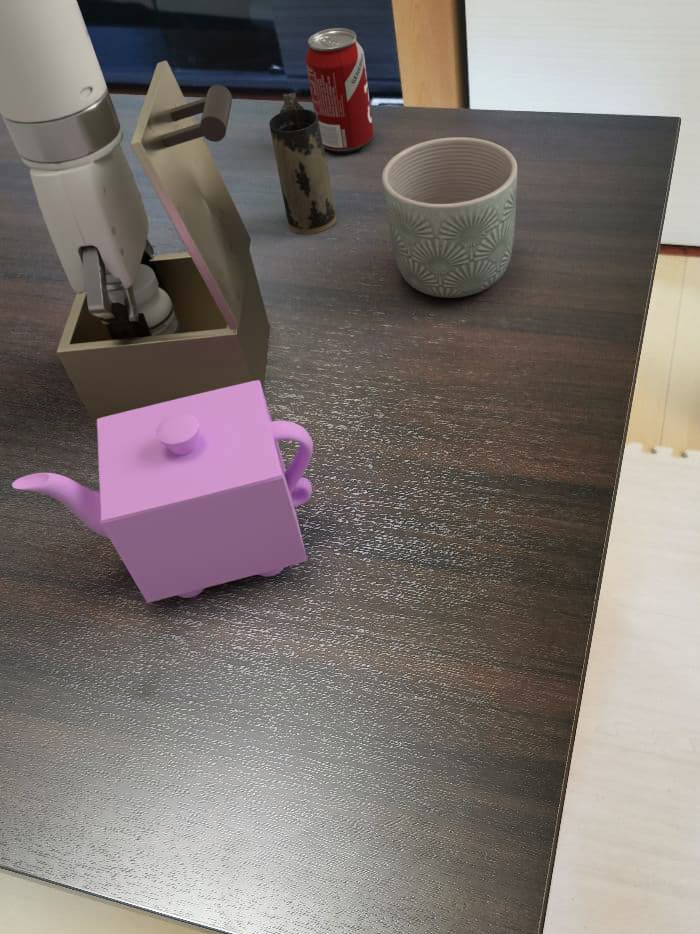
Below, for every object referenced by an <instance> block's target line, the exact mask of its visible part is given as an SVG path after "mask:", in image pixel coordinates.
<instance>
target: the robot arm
mask: <svg viewBox="0 0 700 934" xmlns="http://www.w3.org/2000/svg"><path fill="white" fill-rule="evenodd" d="M0 116H1V118H2V120H3V122H4V124H5V127H6V129H7V131H8V133H9V136H10V138H11V140H12V142H13V144H14V146H15V148H16V151H17V153H18V155H19V157H20V159H21V161H22V163H23V164H24V165H26V166H28V167H29V174H30V178H31V182H32V186H33V190H34V193H35V196H36V199H37V203H38V206H39V209H40V212H41V215H42V218H43V220H44V223H45V226H46V228H47V231H48V233H49V237H50V239H51V242H52V244H53V246H54V249H55V251H56V254H57V256H58V259H59V261H60V263H61V266H62V268H63V270H64V273H65V275H66V277H67V280H68V282H69V284H70V287H71V288H72V290H73V291H74V292H75V293H76V294H77V293H78V294H80V293H83V292H86V294H87V303H88V309H89V311H90V313H91V314H93V315H95V316H97V317H98V318H99V319H100V320H101V321H102V323H103V324H104V325H106V327H107V329H108V331H109V333H110V336H111V338H112V340H118V339H128V338H137V337H147V336H152V334H151V331H150V329H149V326H148V324H147V321H146V319H145V316H144V314H143V313H138V310H137V306H136V302H135V297H134V293H133V289H132V284H133V282H134V281H135V279H136V276H137V273H138V270H139V267H140V264H144V265H146V266H149V267H150V268H151V269H152V270H153V271H154V273H155V276H156V279H157V281H158V287H159V288H161V289H163V290H164V291H165V292H166V293H167V294H168V292H167V289H166V286H165V283H164V281H163V278H162V275H161V272H160V270H159V267H158V264H157V261H150V260H153V259H154V255H155V251H154V248H153V246H152V243H151V242H150V240H148V236H149V229H150V228H149V226H150V225H149V219H148V215H147V212H146V208H145V205H144V201H143V199H142V196H141V192H140V191H139V187H138V185H137V183H136V179H135V177H134V175H133V172H132V169H131V167H130V165H129V163H128V159H127V157H126V156H125V152H124V150H123V148H122V146H121V142H122V140H123V138H124V130H123V128H122V125H121V124H120V123H121V122H120V120H119V117H118V115H117V111H116V109H115V105H114V103H113V100H112V97H111V94H110V92H109V89H108V86H107V83H106V80H105V78H104V75H103V71H102V69H101V65H100V63H99V60H98V58H97V55H96V52H95V49H94V45H93V42H92V40H91V37H90V34H89V32H88V29H87V26H86V23H85V20H84V17H83V15H82V11H81V9H80V6H79V4H78V1H77V0H0ZM110 274H112V275H113V276H114V277H115V278H120V281H113V282H107V280H106V275H110ZM117 290H122V295H123V299H124V303H125V305H123V304H121V303H119V302H117V303H113V302H112V300H111V299H110V298H109V295H108V291H117ZM168 296H169V294H168Z"/></svg>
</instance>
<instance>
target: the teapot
mask: <svg viewBox="0 0 700 934" xmlns="http://www.w3.org/2000/svg"><path fill="white" fill-rule="evenodd" d="M96 433H97V436H96V437H97V459H98V460H97V461H98V484H99V485H98V487H99V492H97V491H95V490H92V489H89V488H88V487H86V486H83V485H82V484H80V483H79V482H77V481H76V480H73V479H72V478H69V477H67V476H66V475H65V476H64V475H62V474H57V473H53V472H36V473H31V474H27V475H24V476H21V477H19V478H17V479H16V480H14V481H13V482H12V484H11V486H12V488H13V489H15V490H19V491H25V492H34V493H41V494H44V495H46V496H49V497H52V498H54V499H55V500H57V501H59V502H60V503H61V504H62V505H64V506H65V507H66V508H67V509H69V510H70V512H72V514H73V515H75V516H76V517H77V518H78V519H79V521H81V522H82V523H83V524H84V525H85V526H86V527H87V528H89V529H90V530H91V531H93V532H95V534H98V535H99V536H102V537H104V538H106V539H109V540H110V542H111V543H112V545H113V547H114V549H115V551H116V552H117V554H118V555H119V558H120V559H121V560H122V562H123V564H124V566H125V567H126V569H127V571H128V573H129V574H130V576H131V578H132V579H133V581H134V583H135V584H136V586H137V588H138V589H139V592H140V593H141V595H142V597H143V598H144V600H145V602H146V604H149V603H152V602H153V603H154V602H156V601H160V600H164V599H168V598H172V597H175V596H178V597H181V598H185V599H187V598H193V597H196V596H199V594H201V593H202V592H203V591H204V590H205V589H206V588H210V587H213V586H218V585H222V584H225V583H229V582H232V581H236V580H240V579H244V578H245V579H246V578H249V577H252V576H256V575H259V576H262V577H265V578H267V577H273V576H276V575H278V574H279V573H281V572H282V571H283V570H284V569H285V568H286V567H290V566H294V565H298V564H300V563H304V562H308V556H307V553H306V548H305V545H304V541H303V535H302V532H301V528H300V523H299V520H298V515H297V511H296V507H299V506H302V505H304V504H306V503H307V502H309V500H310V499H311V497H312V493H313V486H312V483H311V482H310V480H309V479H308V478H306V477H305V476H303V475H304V473H305V472H306V470H307V468H308V467H309V464H310V463H311V460H312V457H313V453H314V444H313V439H312V437H311V435H310V434H309V432H308V430H306V429H305V428H304V427H303V426H302V425H300V424H298V423H297V422H293V421H289V420H280V419H279V420H272V417H271V414H270V411H269V406H268V404H267V400H266V397H265V393H264V389H263V390H262V386H261V383H260V381H259V380H256V381H252V382H247V383H243V384H238V385H234V386H230V387H226V388H221V389H217V390H213V391H209V392H204V393H200V394H196V395H192V396H188V397H183V398H179V399H175V400H171V401H167V402H163V403H159V404H154V405H150V406H146V407H142V408H138V409H134V410H130V411H126V412H122V413H118V414H114V415H110V416H106V417H102V418H99V419H97V429H96ZM279 441H291V442H296V443H298V444H299V446H298V449H297V452H296V454H295V456H294V457H293V459H292V461H291V463H290V464H289V465H288V466H287V469H286V465H285V461H284V459H283V455H282V452H281V448H280V444H279Z"/></svg>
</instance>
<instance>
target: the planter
mask: <svg viewBox="0 0 700 934" xmlns="http://www.w3.org/2000/svg"><path fill="white" fill-rule="evenodd" d="M518 168H519V167H518V163H517V160H516V157H514V155H513V154H512V153H511V152H510V151H509V150H507V148H505V147H503V146H502V145H499V144H497V143H495V142H492V141H490V140H485V139H481V138H475V137H468V136H467V137H466V136H464V137H463V136H458V137H457V136H454V137H442V138H441V137H440V138H435V139H430V140H426V141H422V142H419V143H416V144H414V145H412V146H409V147H407V148H405V149H403V150H401V151H399V152H398V153H397V154H395V155H394V156H393V157H392V158H391V159H390V160H389V161H388V162H387V163H386V165H385V166H384V168H383V170H382V174H381V184H382V190H383V197H384V204H385V209H386V217H387V222H388V230H389V234H390V240H391V241H390V242H391V246H392V250H393V254H394V257H395V263H396V265H397V268H398V270H399V272H400V275H401V276H402V277H403V279H404V280H405V281H406V283H407V284H408V285H409V286H411V287H412V288H414V289H415V290H416V291H418V292H421V293H423V294H425V295H428V296H431V297H435V298H443V299H457V298H465V297H469V296H474V295H476V294H479V293H481V292H483V291H485V290H487V289H489V288H490V287H492V286H493V285H495V284H496V283H497V282H498V281H500V279H501V278H502V276H503V275H504V274H505V273H506V270H507V269H508V266H509V264H510V261H511V258H512V252H513V245H514V238H515V229H516V209H517V192H518V191H517V190H518V189H517V188H518V171H519V170H518Z"/></svg>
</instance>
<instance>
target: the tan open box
mask: <svg viewBox="0 0 700 934" xmlns="http://www.w3.org/2000/svg"><path fill="white" fill-rule="evenodd" d="M150 261H157V264H158V267H159V270H160V272H161V275H162V278H163V281H164V283H165V286H166V289H167V292H168V294H169V297H170V299H171V302H172V304H173V307H174V310H175V313H176V316H177V318H178V321H179V324H180V327H181V329H182V332H183V333H177V334H167V335H157V336H147V337H137V338H128V339H118V340H112V338H111V336H110V333H109V331H108V329H107V327H106V325H104V324H103V323H102V321H101V320H100V319H99V318H98V317H97V316H95V315H93V314H91V313H90V311H89V309H88V303H87V294H86V292H83V293H80V294H78V293H77V292H76V294H75V298H74V301H73V303H72V306H71V309H70V312H69V315H68V317H67V321H66V324H65V326H64V330H63V333H62V334H61V335H62V336H61V338H60V340H59V344H58V346H57V350H56V354H57V356H58V358H59V360H60V361H61V364H62V366H63V367H64V369H65V371H66V373H67V375H68V377H69V379H70V381H71V382H72V385H73V386H74V388H75V391H76V392H77V393H78V394H77V395H78V397H79V398H80V400H81V403H82V404H83V406H84V408H85V409H86V412H87V414H88V415H89V418H90V419H91V421H92V423H93V424H94V427H95V428H96V430H97V419H99V418H102V417H106V416H110V415H114V414H118V413H122V412H126V411H130V410H134V409H138V408H142V407H146V406H150V405H154V404H159V403H163V402H167V401H171V400H175V399H179V398H183V397H188V396H192V395H196V394H200V393H204V392H209V391H213V390H217V389H221V388H226V387H230V386H234V385H238V384H243V383H247V382H252V381H256V380H259V381H260V383H261V386H262V390H263V391H264V390H265V389H264V387H265V376H266V368H267V359H268V358H267V357H268V346H269V336H270V327H271V326H270V323H269V319H268V315H267V311H266V307H265V303H264V300H263V296H262V293H261V288H260V284H259V281H258V277H257V273H256V269H255V265H254V261H253V258H252V253H251V250H250V251H249V258H248V266H247V273H246V281H245V289H244V296H243V304H242V311H241V319H240V326H239V328H237V329H233V330H230V328H229V326H228V324H227V322H226V321H225V319H224V317H223V315H222V313H221V311H220V310H219V308H218V306H217V304H216V302H215V300H214V299H213V297H212V295H211V293H210V291H209V289H208V288H207V286H206V284H205V282H204V280H203V278H202V277H201V275H200V273H199V271H198V269H197V267H196V266H195V264H194V262H193V260H192V258H191V256H190V255H189V253H188V251H183V252H174V253H173V252H172V253H164V254H154V259H153V260H150Z"/></svg>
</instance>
